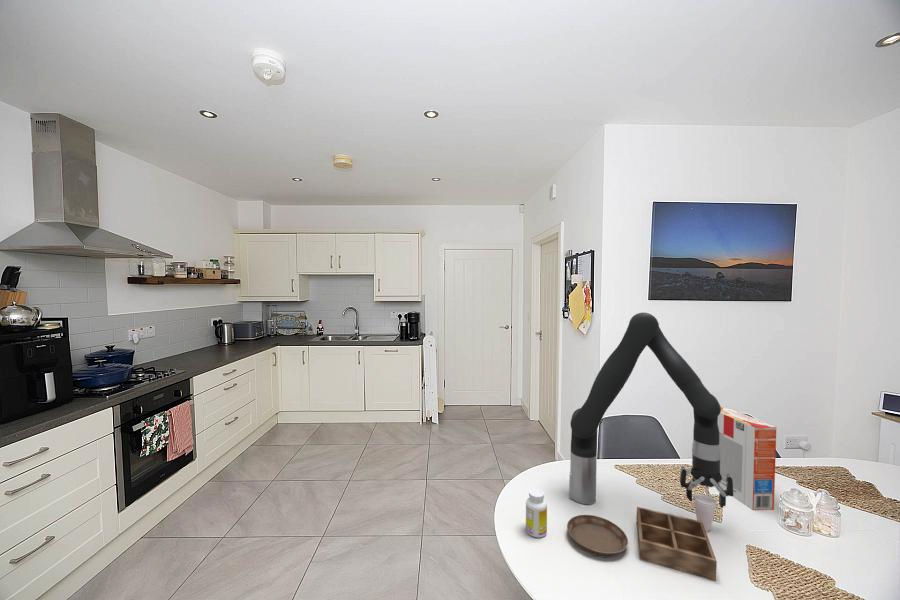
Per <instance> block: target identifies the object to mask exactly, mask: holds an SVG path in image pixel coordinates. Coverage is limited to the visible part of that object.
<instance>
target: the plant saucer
mask: <svg viewBox="0 0 900 600" xmlns="http://www.w3.org/2000/svg"><path fill="white" fill-rule="evenodd" d="M566 529H567V532H568V534H569V536H570V538H571V539H572V541H573V542H574V543H575V544H576V545H577V546H578V547H579V548H581V549H582V550H583V551H584V552H586V553H589V554H591V555H594V556H597V557H601V558H612V557H616V556H618V555H619V554H621V553H622V552H624V550H625V549H627V547H628V545H629V539H628V536H627V535H626V533H625V531H624V530H623V529H622V528H621V527H619V526H618V525H617V524H616V523H614V522H612V521H610V520H608V519H606V518H604V517H601V516H597V515H592V514H578V515H575V516H573V517H571V518H570V519H569V520H568V522H567V524H566Z"/></svg>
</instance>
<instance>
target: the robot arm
mask: <svg viewBox="0 0 900 600" xmlns="http://www.w3.org/2000/svg"><path fill="white" fill-rule="evenodd" d="M628 322H629V323H628V326H627V328H626V330H625V332H624V335H623V336H622V339H621V340H620V342H619V344H618V345H617V347H615V349H614V351H612V353H611V354H610V355H609V357H608V358H607V359H606V360H605V362H604V364H603V365H602V366H601V368H600V370H599V372H598V374H597V375H596V377H595V379H594V381H593V384H592V386H591V388H590V391H589V393H588V397H587V398H586V400H585V401H584V403H583V404H582V406H581V408H577V409H576V410H575V411H574V412H573V413H572V414H571V415H572V416H571V420H570V430H571V433H570V434H571V435H570V436H571V437H570V464H569V465H570V468H569V469H570V470H569V481H568V482H569V488H568V489H569V490H568V495H569V497H568V498H569V500H573V501H574V502H576V503H578V504H582V505H592V504H595V503H596V501H597V464H598V463H597V459H598V458H597V455H598V453H597V451H598V428H599V426H600V423H601V422H602V419H603V418H604V415H605V413H606V412H607V410H608V409H609V407H610V406H611V405H612V403H613V402H614V400H615V399H616V398H617V397H618V395H619V393H620V392H621V391H622V389H623V388H624V386H625V385H626V383H627V381H628V380H629V379H630V376H631V375H632V373H633V370H634V369H635V366H636V364H637V362H638V359H639V358H640V355H641V354H642V352H643V351H644V350H645V349H646V348H647V347H648V348H649V349H650V350H651V352H652V353H653V354H654V356H655V357H656V358H657V360H658V361H659V363H660V364H661V366H662V367H663V368H664V370H665V372H666V373H667V374H668V376H669V377H670V378H671V380H672V381H673V382H674V384H675V385H676V386H677V387H678V389H679V390H680V391H681V393H683V395H684V396H685V398H686V399H687V401H688V402H689V404H690V405H691V407H692V409H693V432H692V433H693V437H692V439H693V440H692V447H691V454H692V457H691V458H692V459H691V466H692V467H691V469H689V468H685V467H684V466H681V467H680V475H679V483H680V486H681V488H685V491H686V492H685V493H686V494H685V496H686V498H687V499H688V501H689V502H692V501H693V489H694V488H696V487H697V486H698V485H700V486H702V487H706V486H708V488H715V489H716V490H717V491H718V492H719V493H718V496H719V497H718V503H719V507H720V508H722V509H723V508H724V507H726V505H727V504H726V503H727V497H732V496H733V481H732V478H731V476H730V475H729V474H727V475H721V474H720V446H719V428H718V416H719V414H720V412H721V407H722V406H721V405H720V403H719V401H718V399H717V397H715V395H713V394H711V392H710V391H709V390H708V389H707V387H706V386H705V385H704V384H703V382H702V380H701V378H700V377H699V375H697V373H696V372H695V371H694V370H693V368H692V367H691V366H690V364H689V363H688V362H687V361H686V360H685V359H684V357H682V356H681V354H680V353H679V352H678V351H677V350H676V349H675V347H674V346H673V345H672V344H671V343H670V342H669V340H668V339H667V337H666V336H665V335H664V332H663V331H662V329H661V328H660V322H659V321H658V319H657V318H656V316H654V315H652V314H651V313H648V312H637V313H636V314H634V315H633V316H632V317H631V318H630V319H629V321H628ZM689 475H691V476H692V477H691V478H690V479H689V481H688V482H687V481H686V480H687V477H688V476H689ZM722 479H723V480H724V482H725V483H726V487H727V490H723V489H722V487H721V486H720V485H719V482H720V481H721V480H722Z"/></svg>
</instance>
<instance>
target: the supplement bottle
mask: <svg viewBox="0 0 900 600" xmlns="http://www.w3.org/2000/svg"><path fill="white" fill-rule="evenodd" d="M544 498H545V493H544V491H543V490H541V489H537V488H533V489H530V490H529V491H528V498H527V499H526V501H525V531H526V533H527V534H528V535H529V536H530V537H532V538H533V537H534V538H544V537H545V536H546V535H547V533H548V532H547V531H548V508H547V507H548V503H547V501H546V500H545V499H544Z"/></svg>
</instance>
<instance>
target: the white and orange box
mask: <svg viewBox="0 0 900 600" xmlns="http://www.w3.org/2000/svg"><path fill="white" fill-rule="evenodd" d="M720 407H721V412H720V414H719V416H718V428H719V446H720V474H721V475H727V474H729V475H730V476H731V478H732V481H733V496H731V497H733V498H734V499H735V500H737V501H738V502H739V503H741V504H742V505H744V506H746V507H747V508H748V509H750V510H751V511H771V510H772V511H774V510H775V491H776V490H775V487H776V485H775V484H776V458H777V457H776V456H777V455H776V453H777V450H776V449H777V426H774V425H772V424H769V423H767V422H765V421H762V420H760V419H757V418H755V417H752V416H750V415H746V414H744V413H741V412H739V411H736V410H734V409H731V408H729V407H727V406H723V405H722V406H720ZM719 485H720V486H721V487H722V489H723V490H727V487H726V483H725V482H724V480H723V479H722V480H721V481H720V482H719Z"/></svg>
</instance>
